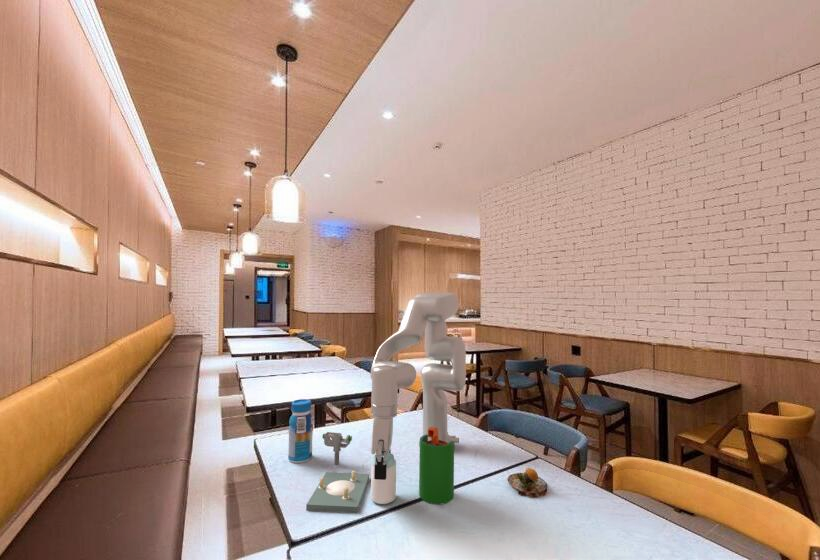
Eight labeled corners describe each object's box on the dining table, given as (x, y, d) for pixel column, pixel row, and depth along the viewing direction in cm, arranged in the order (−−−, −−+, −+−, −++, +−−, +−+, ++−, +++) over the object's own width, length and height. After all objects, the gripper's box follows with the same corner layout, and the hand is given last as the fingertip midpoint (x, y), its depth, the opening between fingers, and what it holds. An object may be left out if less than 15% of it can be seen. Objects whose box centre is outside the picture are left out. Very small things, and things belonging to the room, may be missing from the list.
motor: (456, 491, 107) (456, 422, 108) (449, 507, 98) (449, 433, 99) (423, 484, 110) (424, 418, 111) (414, 500, 101) (415, 428, 102)
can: (386, 509, 97) (386, 464, 98) (365, 501, 101) (366, 457, 101) (400, 497, 103) (400, 454, 104) (380, 489, 107) (381, 448, 107)
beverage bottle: (282, 461, 125) (284, 403, 126) (298, 451, 133) (299, 397, 134) (302, 465, 122) (303, 406, 123) (317, 455, 129) (318, 399, 130)
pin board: (369, 478, 113) (369, 465, 114) (357, 512, 95) (357, 497, 96) (326, 476, 114) (326, 464, 114) (306, 510, 96) (306, 495, 97)
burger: (519, 474, 118) (519, 451, 118) (554, 488, 109) (554, 463, 110) (499, 487, 109) (499, 462, 110) (536, 504, 101) (536, 477, 101)
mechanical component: (349, 467, 121) (349, 437, 121) (321, 464, 123) (321, 434, 123) (352, 463, 124) (352, 434, 124) (324, 460, 126) (325, 431, 126)
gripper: (376, 401, 112) (374, 457, 111) (365, 418, 95) (363, 485, 94) (399, 402, 111) (398, 458, 110) (393, 419, 94) (392, 486, 93)
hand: (382, 470), depth 102 cm, fingers open, 9 cm apart
